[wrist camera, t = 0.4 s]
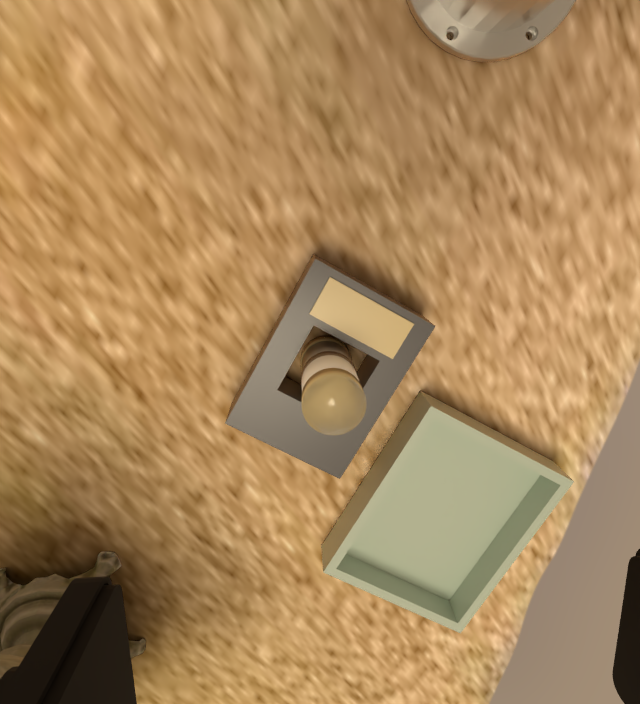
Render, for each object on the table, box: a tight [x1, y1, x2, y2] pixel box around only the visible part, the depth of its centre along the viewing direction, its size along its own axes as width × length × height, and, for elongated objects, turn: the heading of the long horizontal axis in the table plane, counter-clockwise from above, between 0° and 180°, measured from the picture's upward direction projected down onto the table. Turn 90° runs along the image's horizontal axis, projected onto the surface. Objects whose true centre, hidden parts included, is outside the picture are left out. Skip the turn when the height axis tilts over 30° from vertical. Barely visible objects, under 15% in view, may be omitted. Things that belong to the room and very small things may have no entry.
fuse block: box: [225, 254, 435, 479], centre depth 39 cm, size 14×10×4 cm
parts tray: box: [321, 391, 574, 633], centre depth 44 cm, size 17×14×4 cm
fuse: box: [301, 336, 366, 435], centre depth 36 cm, size 4×4×10 cm
